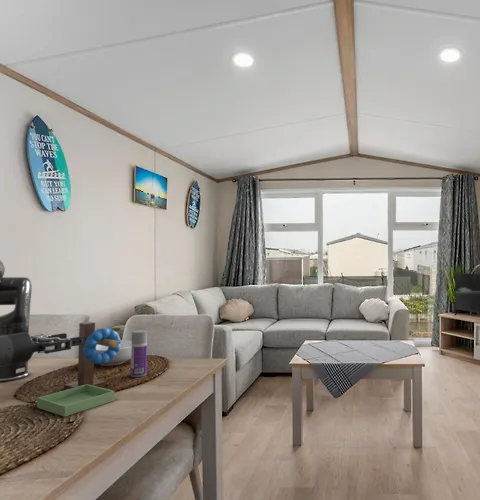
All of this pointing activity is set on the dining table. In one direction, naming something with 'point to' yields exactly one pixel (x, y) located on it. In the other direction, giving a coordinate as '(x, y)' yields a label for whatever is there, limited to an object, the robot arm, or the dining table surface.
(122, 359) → the cereal bowl
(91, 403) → the tray
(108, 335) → the ring
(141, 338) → the container
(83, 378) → the rack
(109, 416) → the dining table surface
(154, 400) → the dining table surface
